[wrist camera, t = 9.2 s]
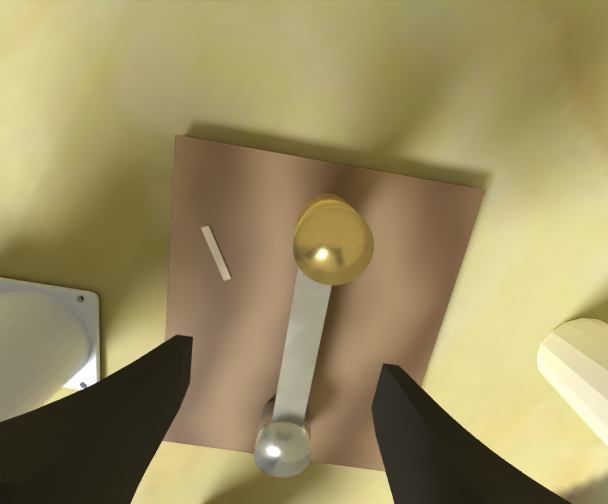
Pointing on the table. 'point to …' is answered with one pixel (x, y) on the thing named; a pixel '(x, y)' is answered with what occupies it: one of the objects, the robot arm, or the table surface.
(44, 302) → the robot arm
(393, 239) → the bench base
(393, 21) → the table surface
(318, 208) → the lever
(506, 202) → the table surface
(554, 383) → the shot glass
